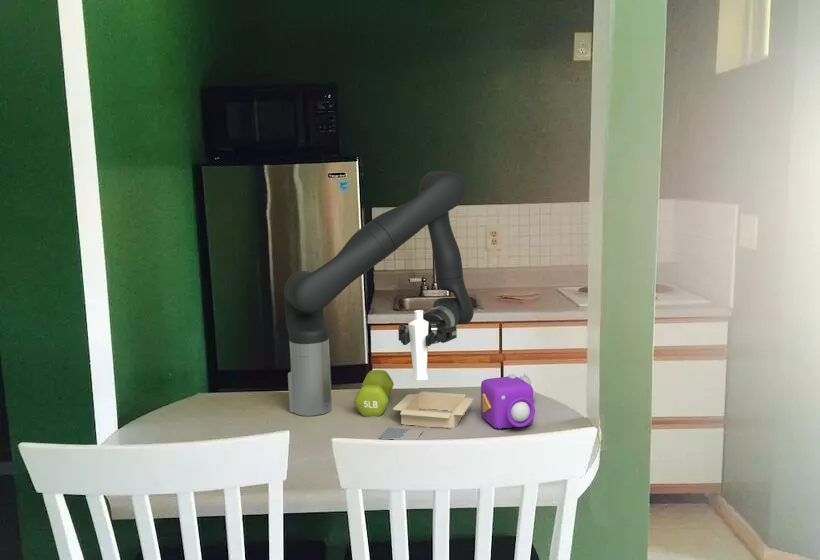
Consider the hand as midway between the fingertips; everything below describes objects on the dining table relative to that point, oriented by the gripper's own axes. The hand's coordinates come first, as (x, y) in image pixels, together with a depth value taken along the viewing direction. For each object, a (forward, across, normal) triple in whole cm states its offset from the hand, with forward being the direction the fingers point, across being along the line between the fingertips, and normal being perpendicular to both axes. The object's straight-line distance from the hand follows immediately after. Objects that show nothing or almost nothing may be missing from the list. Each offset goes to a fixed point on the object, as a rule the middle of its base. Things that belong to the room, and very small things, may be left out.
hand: (415, 340), depth 151 cm
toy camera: (-7, +19, +20) cm, 29 cm away
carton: (-7, +2, +20) cm, 21 cm away
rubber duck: (-22, +20, +20) cm, 36 cm away
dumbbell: (-12, -14, +20) cm, 28 cm away
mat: (+5, -2, +20) cm, 20 cm away
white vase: (-3, 0, +9) cm, 10 cm away
